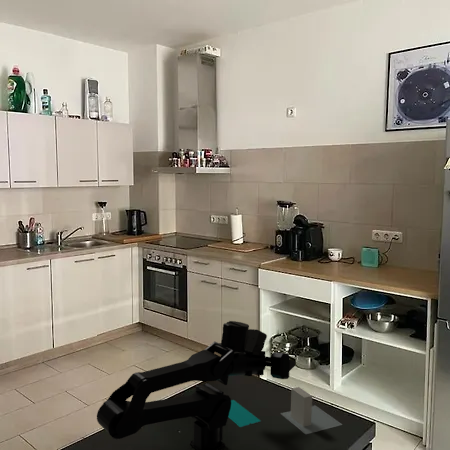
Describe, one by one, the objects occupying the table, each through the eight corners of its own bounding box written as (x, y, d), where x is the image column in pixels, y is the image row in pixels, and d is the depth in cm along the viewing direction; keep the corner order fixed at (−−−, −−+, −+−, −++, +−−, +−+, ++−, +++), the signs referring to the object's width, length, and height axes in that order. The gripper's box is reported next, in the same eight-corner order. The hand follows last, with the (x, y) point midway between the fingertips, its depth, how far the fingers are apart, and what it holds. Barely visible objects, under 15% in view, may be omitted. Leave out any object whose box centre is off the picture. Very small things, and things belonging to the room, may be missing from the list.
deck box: (303, 426, 122) (304, 397, 121) (290, 416, 127) (291, 388, 126) (311, 424, 123) (312, 395, 122) (298, 414, 128) (299, 386, 128)
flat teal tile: (233, 398, 137) (262, 421, 124) (233, 401, 137) (262, 424, 124) (211, 404, 134) (239, 427, 121) (211, 407, 134) (239, 431, 121)
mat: (305, 435, 118) (305, 434, 118) (280, 414, 129) (280, 413, 129) (342, 426, 123) (342, 424, 123) (315, 406, 134) (315, 405, 134)
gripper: (266, 333, 112) (308, 333, 121) (218, 329, 126) (259, 329, 136) (265, 381, 110) (308, 377, 119) (216, 371, 124) (258, 369, 134)
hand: (282, 361), depth 127 cm, fingers open, 9 cm apart
